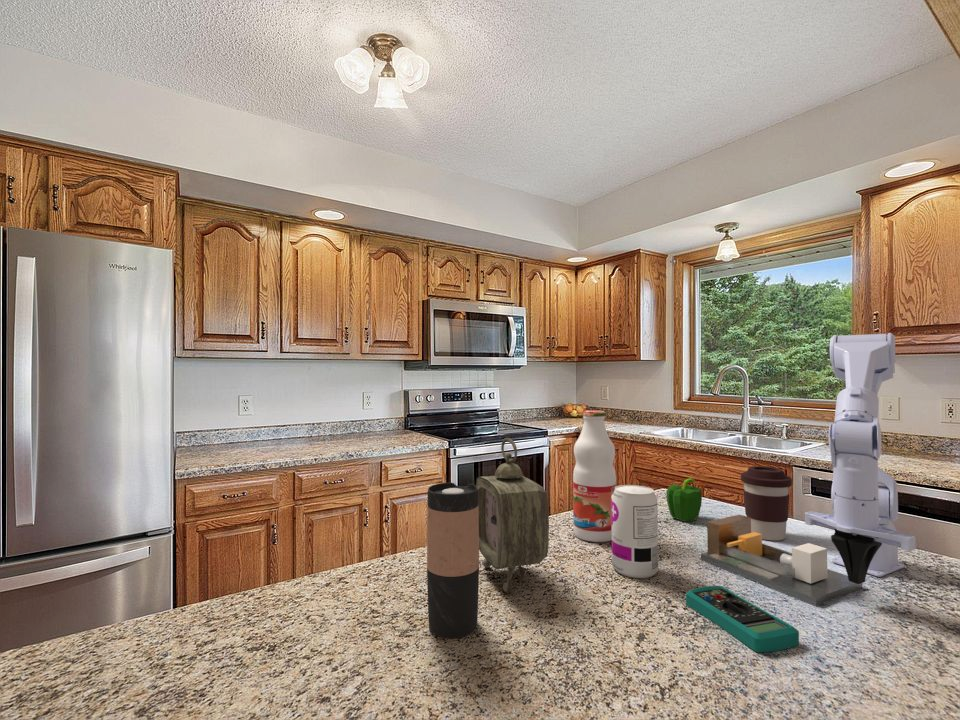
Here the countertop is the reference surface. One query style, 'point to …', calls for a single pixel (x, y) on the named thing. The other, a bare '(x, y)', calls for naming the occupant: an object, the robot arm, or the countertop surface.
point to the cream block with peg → (807, 562)
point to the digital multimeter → (743, 619)
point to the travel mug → (452, 559)
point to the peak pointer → (749, 543)
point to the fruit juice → (593, 480)
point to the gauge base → (767, 564)
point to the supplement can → (634, 531)
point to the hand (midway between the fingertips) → (856, 581)
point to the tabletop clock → (512, 519)
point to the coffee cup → (767, 500)
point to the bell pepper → (684, 501)
